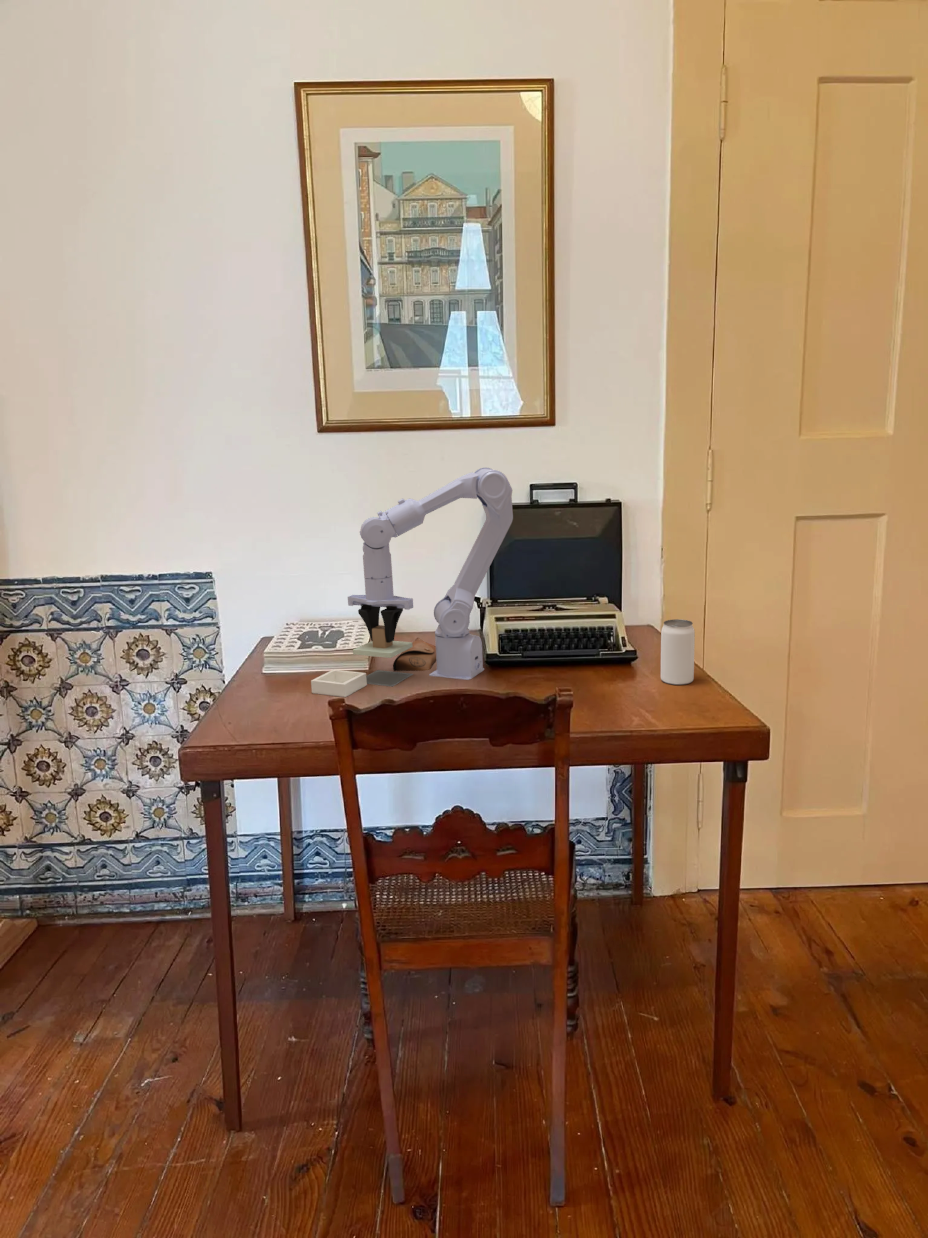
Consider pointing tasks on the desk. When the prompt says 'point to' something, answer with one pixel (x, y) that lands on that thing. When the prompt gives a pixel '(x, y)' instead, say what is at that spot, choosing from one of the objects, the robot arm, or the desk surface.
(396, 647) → the lid
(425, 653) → the sunglasses case
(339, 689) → the dish
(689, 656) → the can
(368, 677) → the mat
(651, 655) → the desk surface
